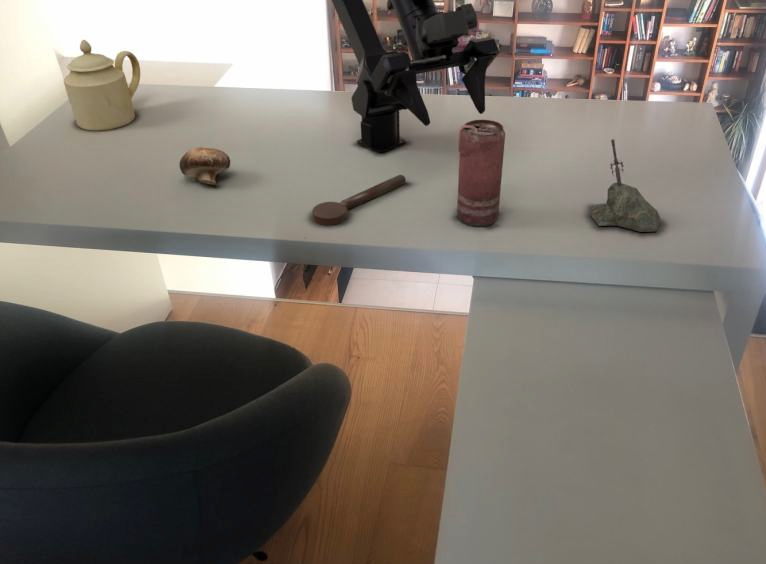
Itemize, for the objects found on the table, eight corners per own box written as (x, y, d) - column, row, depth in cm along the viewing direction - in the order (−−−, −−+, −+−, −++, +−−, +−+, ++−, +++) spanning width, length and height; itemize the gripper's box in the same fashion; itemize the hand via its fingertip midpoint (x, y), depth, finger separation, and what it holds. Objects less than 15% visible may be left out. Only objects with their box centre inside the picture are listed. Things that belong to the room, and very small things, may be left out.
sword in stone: (660, 210, 104) (680, 133, 97) (660, 236, 98) (681, 156, 91) (592, 202, 106) (606, 126, 99) (588, 227, 101) (602, 148, 93)
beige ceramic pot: (99, 102, 143) (77, 25, 134) (151, 103, 143) (132, 25, 133) (66, 130, 132) (39, 48, 122) (122, 131, 131) (99, 48, 122)
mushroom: (214, 177, 108) (205, 138, 107) (175, 192, 111) (165, 153, 110) (244, 181, 115) (235, 144, 114) (206, 194, 118) (197, 158, 118)
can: (452, 209, 105) (455, 119, 97) (493, 206, 106) (500, 116, 97) (458, 229, 101) (462, 136, 92) (501, 226, 101) (510, 133, 92)
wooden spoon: (393, 177, 114) (392, 168, 113) (415, 187, 111) (415, 178, 110) (305, 217, 104) (304, 207, 103) (328, 229, 101) (327, 219, 100)
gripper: (377, -9, 90) (418, 102, 89) (497, -25, 96) (536, 78, 96) (355, 40, 100) (391, 140, 100) (465, 23, 107) (500, 116, 106)
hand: (455, 118), depth 100 cm, fingers open, 9 cm apart
